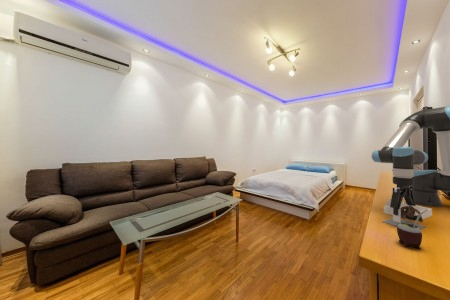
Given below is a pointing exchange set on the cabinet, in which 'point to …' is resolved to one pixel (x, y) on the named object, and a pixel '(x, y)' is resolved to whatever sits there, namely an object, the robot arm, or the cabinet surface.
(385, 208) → the carton
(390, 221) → the slate mat
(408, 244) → the mate gourd
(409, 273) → the cabinet surface
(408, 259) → the cabinet surface
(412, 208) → the pottery mug
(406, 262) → the cabinet surface
